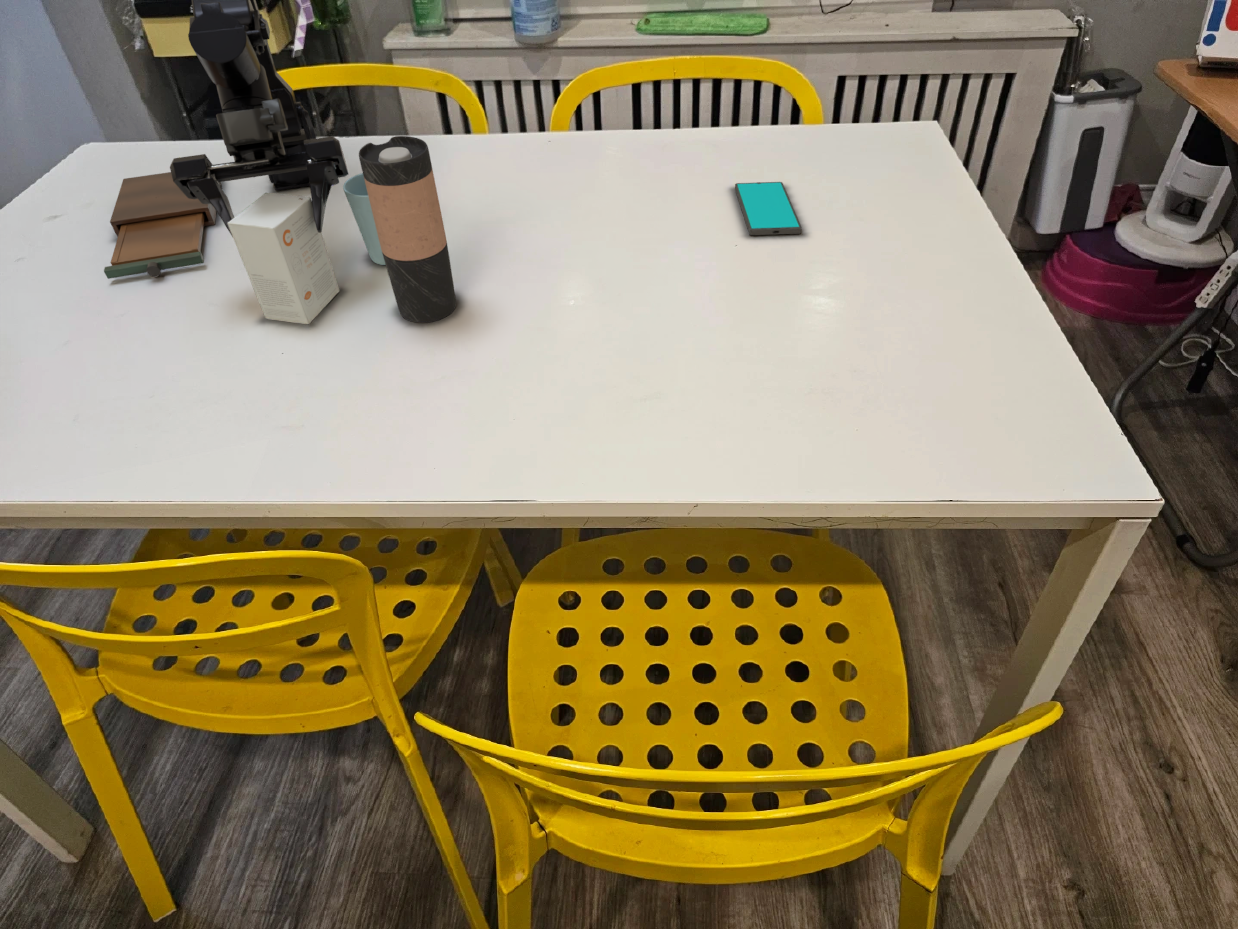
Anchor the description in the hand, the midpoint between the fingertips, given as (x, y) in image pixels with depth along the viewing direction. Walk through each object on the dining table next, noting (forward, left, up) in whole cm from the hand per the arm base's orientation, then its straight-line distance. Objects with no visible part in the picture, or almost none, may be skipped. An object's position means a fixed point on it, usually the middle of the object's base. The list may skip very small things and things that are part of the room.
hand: (279, 237), depth 93 cm
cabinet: (+19, -36, -10) cm, 42 cm away
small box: (0, -1, -10) cm, 10 cm away
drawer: (+19, -22, -9) cm, 30 cm away
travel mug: (-15, +5, -10) cm, 19 cm away
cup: (-12, -10, -10) cm, 18 cm away
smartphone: (-66, -4, -10) cm, 67 cm away
